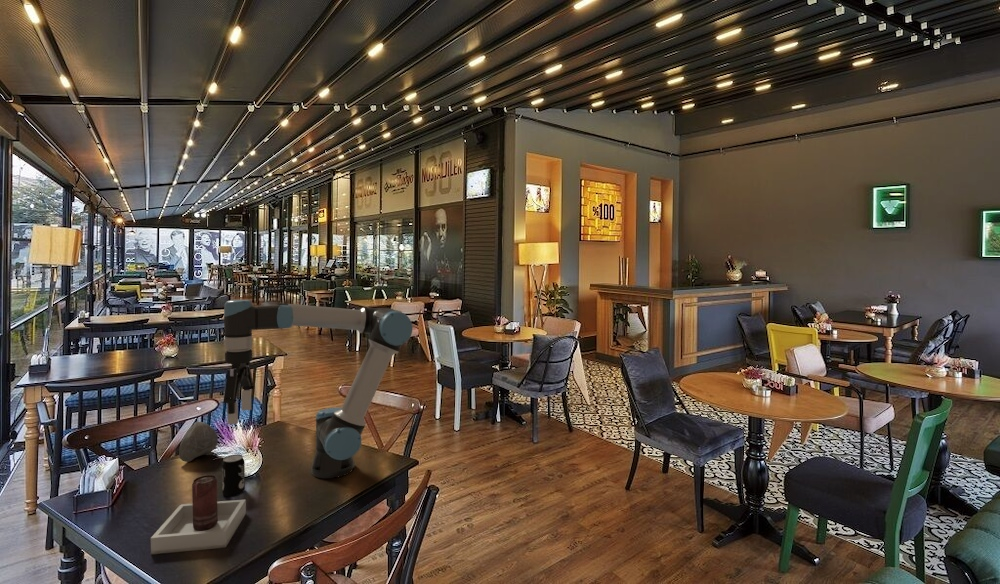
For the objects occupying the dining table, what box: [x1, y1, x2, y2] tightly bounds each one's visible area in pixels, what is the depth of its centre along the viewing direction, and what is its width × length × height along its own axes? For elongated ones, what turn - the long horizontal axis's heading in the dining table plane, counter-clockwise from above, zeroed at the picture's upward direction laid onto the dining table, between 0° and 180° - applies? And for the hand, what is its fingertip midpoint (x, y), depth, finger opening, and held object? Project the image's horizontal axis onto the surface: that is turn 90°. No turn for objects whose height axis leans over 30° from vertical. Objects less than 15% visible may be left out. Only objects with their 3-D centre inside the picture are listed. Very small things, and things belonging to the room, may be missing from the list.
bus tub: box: [150, 499, 247, 555], centre depth 139 cm, size 18×18×4 cm
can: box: [191, 474, 218, 531], centre depth 141 cm, size 6×6×14 cm
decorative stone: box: [178, 421, 219, 463], centre depth 190 cm, size 15×10×15 cm
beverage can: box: [221, 454, 246, 498], centre depth 163 cm, size 7×7×12 cm
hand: (239, 416), depth 154 cm, fingers open, 13 cm apart
